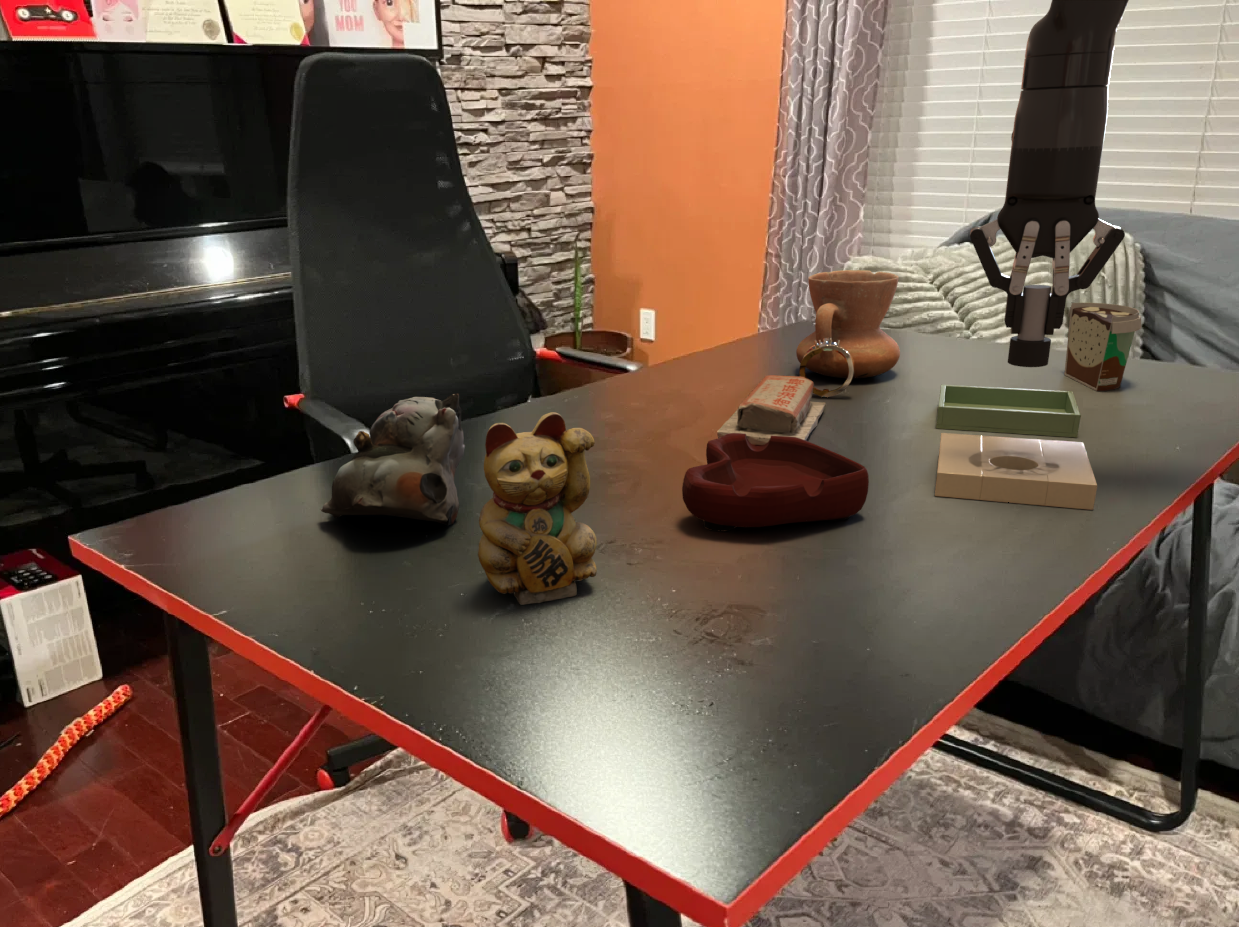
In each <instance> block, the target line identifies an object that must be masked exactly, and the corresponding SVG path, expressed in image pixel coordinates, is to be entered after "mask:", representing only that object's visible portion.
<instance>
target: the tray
mask: <svg viewBox="0 0 1239 927" xmlns="http://www.w3.org/2000/svg"><path fill="white" fill-rule="evenodd" d="M1081 416H1082V415H1081V412H1080V409H1079V407H1078V403H1077V401H1076V397H1075V395H1074V393H1073V391H1071V390H1056V389H1055V390H1053V389H1037V388H1036V389H1032V388H1015V387H1014V388H1013V387H997V386H996V387H993V386H979V385H977V386H976V385H975V386H974V385H957V384H956V385H955V384H941V385H940V390H939V398H938V407H937V416H936V425H935V428H936V429H940V430H955V431H968V432H969V431H971V432H988V433H1001V434H1016V435H1031V436H1048V437H1059V438H1060V437H1063V438H1078V435H1079V429H1080V422H1081Z"/></svg>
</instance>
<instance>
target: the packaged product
mask: <svg viewBox="0 0 1239 927" xmlns="http://www.w3.org/2000/svg"><path fill="white" fill-rule="evenodd" d="M813 386H814V381H812V379H809V378H807V379H806V378H804V377H801V376H800V375H799V376H797V375H776V374H775V375H773V374H771V375H765V376H764V377H763V378H762V379H761V380H760V381H759V382H758V384H756V386H755V387H754V389H752V390H751V392H750V393H749V394H748V395H747V396H746V397H745V399H744V400H743V401H741V403H740V404H739V406H738V407H737V409H736V410H735V411H734V413H733V414H732V415H730V417H729V418H728V419H727V420H725V422H724V423H723V424H722V426H721V427H720V428H719V429H718V430H717V431H716V432H717V439H718V438H720V437H722V436H724V435H726V434H729V433H743V434H746V436H747V439H748V440H749V442H750V443H751V444H753V445H755V446H762V445H765V444H766V443H768V441H769V440H770V438H771V436H787V437H797V438H800V439H803V440H806V441H808V438H809V436H810V434H811V433H812V431H813V430H814V429H815V428H816V427H817V426H818V422H819V419H820V417H821V416H822V414H823V412H824V410H825V408H826V406H827V403H826V402H823V401H822V402H821V401H811V400H812V397H813V394H814V393H813Z"/></svg>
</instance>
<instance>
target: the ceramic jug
mask: <svg viewBox="0 0 1239 927" xmlns="http://www.w3.org/2000/svg"><path fill="white" fill-rule="evenodd" d="M807 280H808V290H809V295H810V299H811V302H812V305H813V309H814V311H815V320H814V321H815V322H814V324H815V326H814V331H813V332H812V333H810V334H809V335H807V336H805V338H804V339H802V340H801V341H800V342H799V343H798V345H797V348H796V351H795V352H796V353H795V355H796V358H797V361H798V362H799V365H800V364H801V361H802V359H803V357H804V355H805V354H806V352H807V351H808V350H809V349H810V348H811V347H812V346H814V345H815V343H814V341H815V340H817V344H818V343H819V340H821V342H823V338H829V337H831V338H832V339H831V340H832V342H836V343H837V340H840V341H839V345H838V346H840V347H842V348H844V349H845V350H846V351H847V352H849V354H850V355H851V356H852V358H853V361H854V365H855V371H854V376H853V378H852V379H865V378H866V379H867V378H872V377H876V376H880V375H882V374H885V373H887V372H889V371H890V370H891V369H893V368H894V367H895V366H896V365H897V364H898V362H899V359H900V356H901V350H900V349H901V348H900V346H899V344H898V343H897V342H896V340H895V339H893V337H891V336H890V335H888V334H887V333H886V332H885V331H884V330H882V329H881V324H882V322H883V321H884V319H885V317H886V315H887V313H888V311H889V309H890V306H891V305H892V302H893V300H894V298H895V294H896V291H897V289H898V288H897V287H898V284H899V275H897V274H895V273H891V272H888V271H876V272H875V273H874V272H872V271H871V270H866V269H862V270H861V269H845V270H844V269H843V270H833V271H823V272H818V273H814V274H812V275H810V276H808V278H807ZM805 369H807V370H809V371H811V372H813V373H816V374H818V375H821V376H825V377H830V378H837V379H847V377H848V373H849V367H848V363H847V361H846V359H845V358H844V357H843V356H842V355H841V354H839V353H838V352H836V351H835V350H832V351H823V350H822V352H821V353H819V354H817V355H815V356H813V357H812V358H811V359H810V360H809V361H808V362H807V364H806V368H805Z"/></svg>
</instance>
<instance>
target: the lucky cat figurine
mask: <svg viewBox="0 0 1239 927" xmlns="http://www.w3.org/2000/svg"><path fill="white" fill-rule="evenodd" d="M464 440H465V439H464V430H463V428H462V408H461V407H460V394H459V393H453V394H451V395H449V396H447V398H445V399H443V400H440V399H436V398H435V397H427V396H426V397H425V396H413V397H410V398H405V399H399V400H398V401H397V403H395V404H394V405H393V407H392V408H390V409H389V408H388V410H385V411H384V412H382V413H381V414H380V415H379V416H378V417H377V418H376V420H375V421H374V422H373V424H372V425H371V427H370V429H369V433H368V432H366V431H363V430H359V431H358V432H357V434H356V435H355V438H353V442H352V443H353V445H354V446H355V448H356V450H357V453H356V454H355V455H354V456H352V458H351V459H350V461H348V462H347V463H345V464H343V465H342V466H340V467H339V469H338V471H337V473H336V474H335V477H334V479H333V481H332V483H331V497H330V500H329V501H326V502H325V503H323V505H322V508H319V510H320V511H321V512H322V513H324V514H330V515H331V516H332V517H334V518H335V519H339V518H340V517H342V516H389V517H397V518H403V519H404V518H405V519H412V520H420V521H427V522H436V523H439V524H442V525H445V526H450V525H453V524H454V522H455V520H456V519H457V517H458V514H459V508H460V503H459V502H460V500H459V497H458V490H457V487H456V485H455V475H456V470H457V468H458V466H459V464H460V462H461V460H462V459H463V457H464V454H465V447H466V445H465V443H464Z"/></svg>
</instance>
